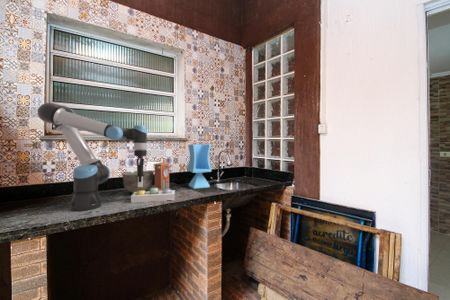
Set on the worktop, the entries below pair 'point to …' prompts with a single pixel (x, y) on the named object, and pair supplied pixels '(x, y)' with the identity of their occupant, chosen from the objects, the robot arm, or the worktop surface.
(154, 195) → the console
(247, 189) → the worktop surface
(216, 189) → the worktop surface
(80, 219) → the worktop surface
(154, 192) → the button sage
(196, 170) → the planter
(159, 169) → the cracker box
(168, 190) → the button blue
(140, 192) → the button mustard
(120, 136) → the robot arm
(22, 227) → the worktop surface
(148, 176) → the bowl
